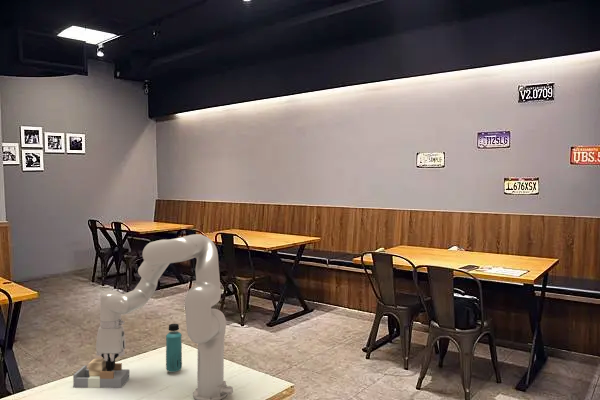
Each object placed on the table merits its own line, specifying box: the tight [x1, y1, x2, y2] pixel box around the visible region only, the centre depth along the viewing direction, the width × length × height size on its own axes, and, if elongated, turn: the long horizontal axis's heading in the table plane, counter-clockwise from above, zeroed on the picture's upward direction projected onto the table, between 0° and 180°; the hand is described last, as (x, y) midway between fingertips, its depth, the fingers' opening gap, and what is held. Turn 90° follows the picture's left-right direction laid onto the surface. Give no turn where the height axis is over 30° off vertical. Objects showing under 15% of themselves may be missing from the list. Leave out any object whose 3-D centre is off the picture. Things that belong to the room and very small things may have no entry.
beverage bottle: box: [165, 323, 183, 373], centre depth 192 cm, size 6×7×20 cm
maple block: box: [87, 357, 107, 376], centre depth 181 cm, size 5×5×5 cm
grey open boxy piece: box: [72, 362, 130, 389], centre depth 181 cm, size 18×9×6 cm, turn 91°
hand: (110, 370), depth 181 cm, fingers closed
